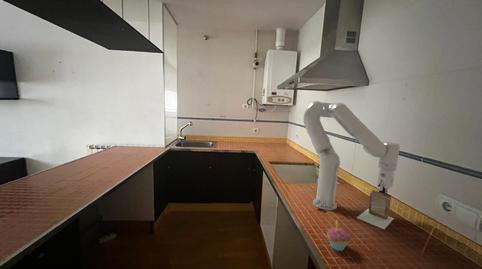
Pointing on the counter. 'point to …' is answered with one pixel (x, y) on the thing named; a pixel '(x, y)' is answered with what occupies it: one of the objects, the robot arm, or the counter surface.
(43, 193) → the counter surface
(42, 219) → the counter surface
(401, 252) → the counter surface
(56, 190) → the counter surface
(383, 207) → the slab
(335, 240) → the cupcake
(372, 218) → the mat
